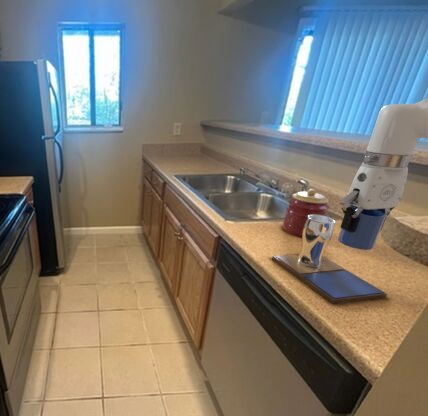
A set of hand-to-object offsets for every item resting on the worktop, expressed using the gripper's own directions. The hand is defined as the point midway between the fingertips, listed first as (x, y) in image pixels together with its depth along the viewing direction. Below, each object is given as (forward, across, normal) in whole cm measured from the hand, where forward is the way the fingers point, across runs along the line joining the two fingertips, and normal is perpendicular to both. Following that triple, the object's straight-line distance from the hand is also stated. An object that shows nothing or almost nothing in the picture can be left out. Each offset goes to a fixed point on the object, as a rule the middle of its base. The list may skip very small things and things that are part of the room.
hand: (360, 228), depth 70 cm
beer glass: (+17, 0, +11) cm, 20 cm away
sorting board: (+18, 0, +5) cm, 19 cm away
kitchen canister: (+18, +18, +33) cm, 42 cm away
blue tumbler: (+4, 0, 0) cm, 4 cm away
